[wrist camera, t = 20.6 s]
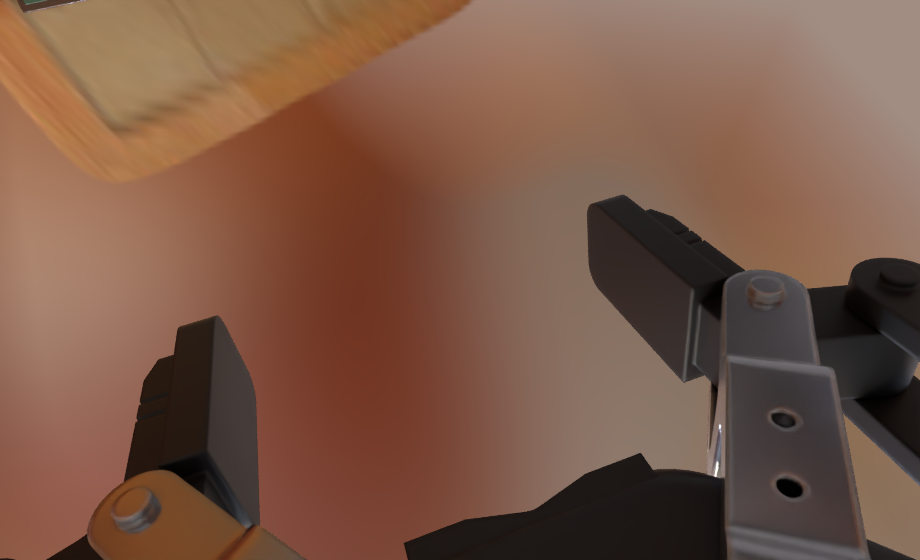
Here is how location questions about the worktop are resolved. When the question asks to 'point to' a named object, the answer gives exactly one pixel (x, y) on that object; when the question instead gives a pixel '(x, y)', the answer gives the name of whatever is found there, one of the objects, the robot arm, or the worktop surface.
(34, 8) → the walnut stand
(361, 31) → the worktop surface
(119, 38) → the worktop surface
